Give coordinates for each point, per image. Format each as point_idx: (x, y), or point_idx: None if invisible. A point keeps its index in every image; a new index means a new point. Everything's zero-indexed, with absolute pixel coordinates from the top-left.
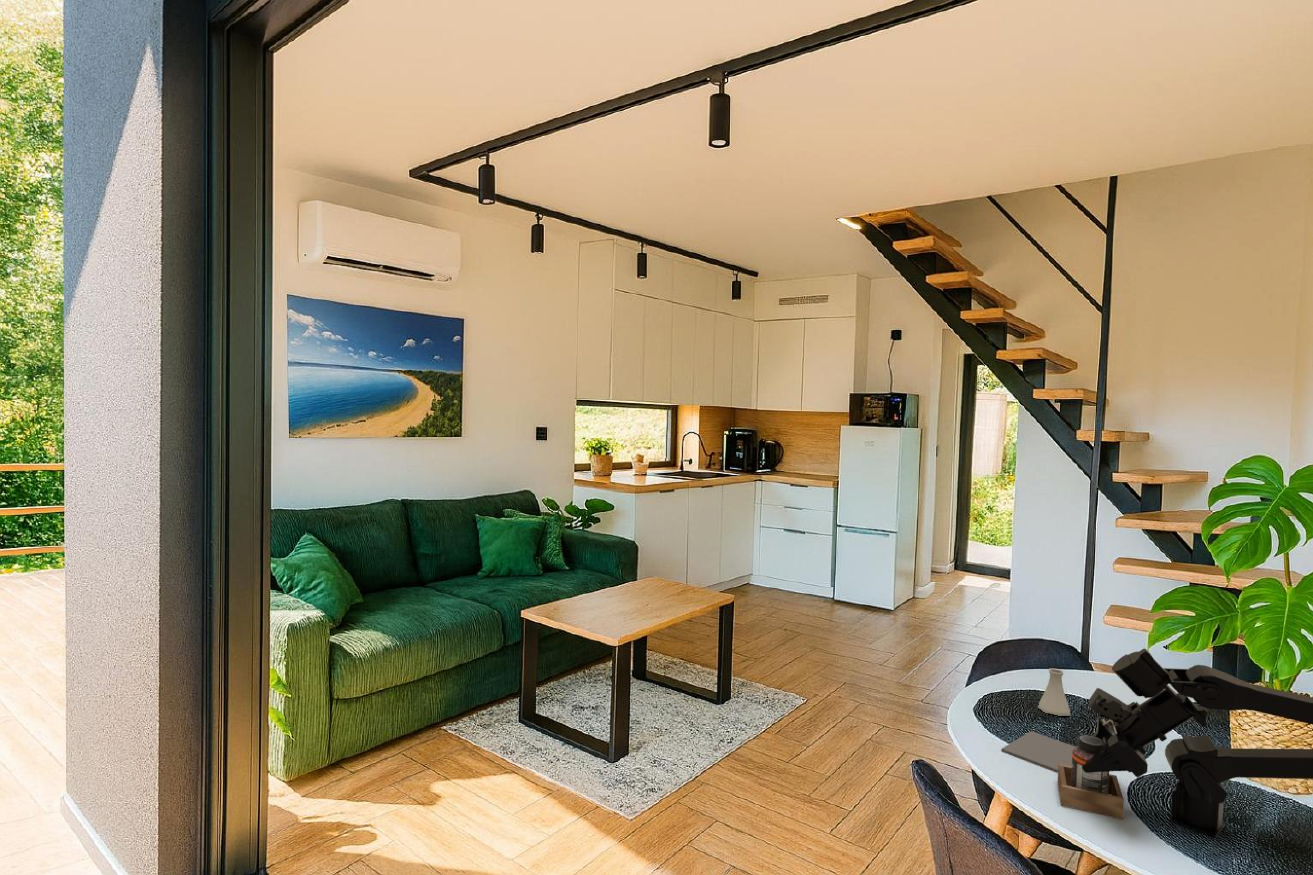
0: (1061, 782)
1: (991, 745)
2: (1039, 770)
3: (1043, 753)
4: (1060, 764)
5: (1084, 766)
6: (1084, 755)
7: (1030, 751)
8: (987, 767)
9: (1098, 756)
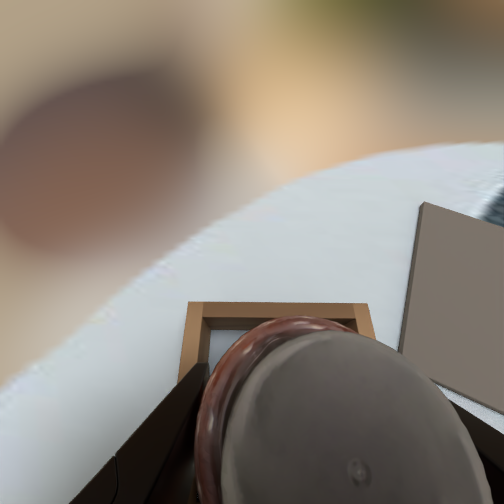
0: (217, 302)
1: (432, 189)
2: (378, 277)
3: (490, 289)
4: (364, 309)
5: (187, 374)
6: (221, 374)
7: (471, 258)
8: (312, 183)
9: (74, 502)
